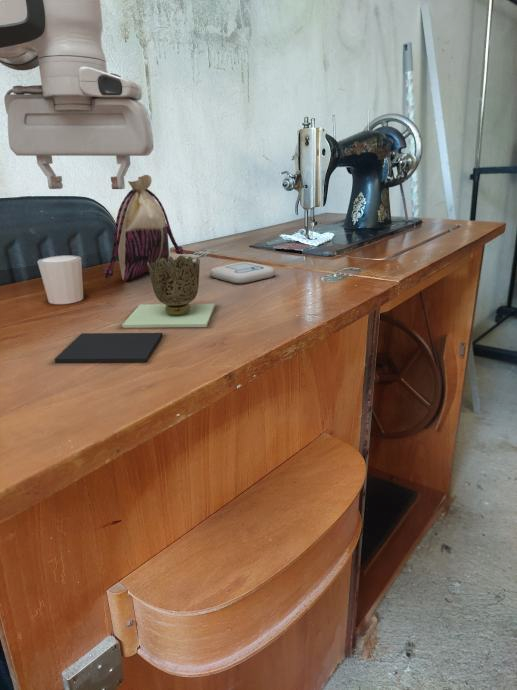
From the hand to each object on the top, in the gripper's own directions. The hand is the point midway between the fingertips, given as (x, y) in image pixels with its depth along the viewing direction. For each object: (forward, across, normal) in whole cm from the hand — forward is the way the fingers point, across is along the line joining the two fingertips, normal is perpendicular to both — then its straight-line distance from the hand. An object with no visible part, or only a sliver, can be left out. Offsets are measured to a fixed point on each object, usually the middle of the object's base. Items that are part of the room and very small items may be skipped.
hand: (87, 188), depth 77 cm
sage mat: (+18, +13, -5) cm, 23 cm away
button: (+18, +21, +20) cm, 34 cm away
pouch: (+18, +1, +24) cm, 31 cm away
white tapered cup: (+18, -7, +4) cm, 20 cm away
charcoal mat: (+18, +8, -18) cm, 27 cm away
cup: (+18, +14, -5) cm, 23 cm away
